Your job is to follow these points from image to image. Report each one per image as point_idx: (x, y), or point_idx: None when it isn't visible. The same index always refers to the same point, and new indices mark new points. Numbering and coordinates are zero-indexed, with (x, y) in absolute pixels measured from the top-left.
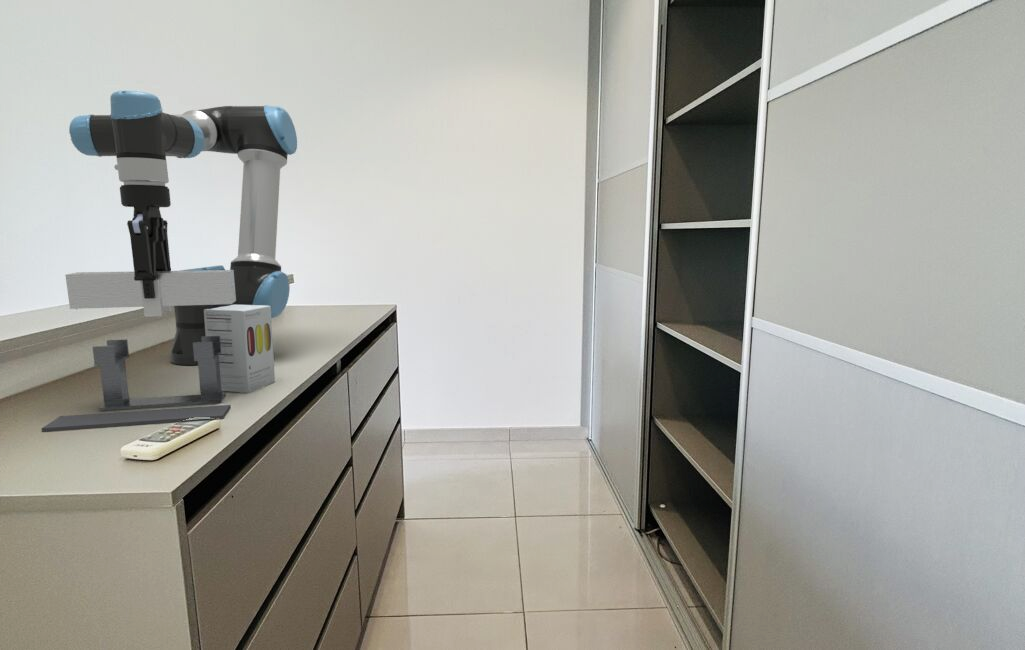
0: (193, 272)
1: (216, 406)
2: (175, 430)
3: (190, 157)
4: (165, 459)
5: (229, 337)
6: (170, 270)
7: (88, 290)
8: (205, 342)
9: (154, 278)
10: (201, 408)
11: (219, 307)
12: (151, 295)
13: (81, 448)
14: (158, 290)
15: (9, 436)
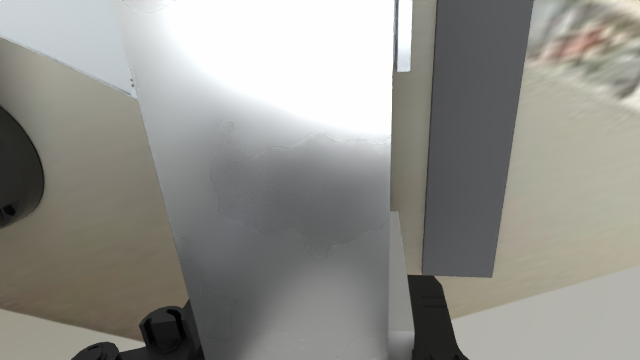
0: (384, 134)
1: None
2: (588, 42)
3: None
4: None
5: None
6: (97, 349)
7: None
8: (411, 24)
9: (457, 351)
10: (452, 26)
11: (75, 51)
12: (441, 292)
13: (628, 184)
14: (407, 285)
15: (497, 305)
